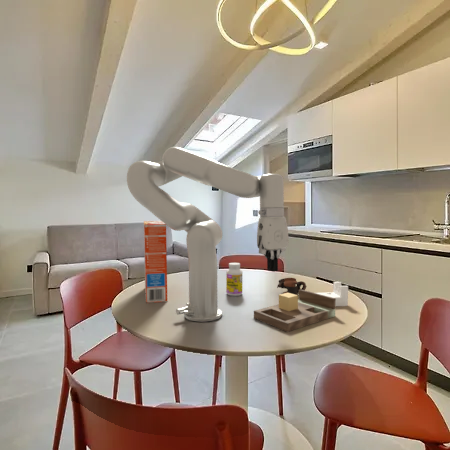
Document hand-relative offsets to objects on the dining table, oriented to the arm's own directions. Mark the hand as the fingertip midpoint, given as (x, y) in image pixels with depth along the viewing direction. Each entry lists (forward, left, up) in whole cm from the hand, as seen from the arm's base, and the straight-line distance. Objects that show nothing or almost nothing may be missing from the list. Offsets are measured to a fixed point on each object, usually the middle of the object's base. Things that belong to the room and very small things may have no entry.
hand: (272, 270), depth 110 cm
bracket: (+29, +1, -17) cm, 34 cm away
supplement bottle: (+10, +32, -17) cm, 38 cm away
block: (+8, 0, -14) cm, 16 cm away
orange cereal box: (-17, +52, -17) cm, 57 cm away
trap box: (+8, -2, -16) cm, 18 cm away
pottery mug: (+28, +17, -17) cm, 37 cm away
